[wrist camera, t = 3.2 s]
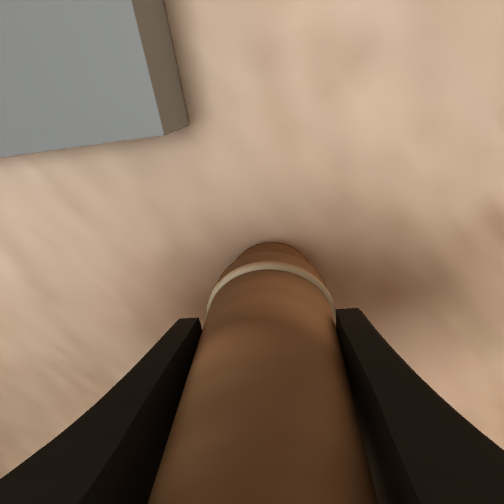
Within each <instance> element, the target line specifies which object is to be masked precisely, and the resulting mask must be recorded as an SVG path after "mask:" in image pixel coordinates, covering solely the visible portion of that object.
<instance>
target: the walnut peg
mask: <svg viewBox="0 0 504 504" xmlns="http://www.w3.org/2000/svg"><path fill="white" fill-rule="evenodd" d="M148 504H378V501H377V496H376V492H375V488H374V484H373V480H372V476H371V471H370V467H369V463H368V459H367V455H366V450H365V446H364V442H363V438H362V434H361V429H360V425H359V421H358V417H357V413H356V409H355V404H354V400H353V396H352V392H351V388H350V383H349V379H348V375H347V371H346V367H345V362H344V358H343V354H342V350H341V346H340V342H339V338H338V334H337V329H336V311H335V307H334V303H333V299H332V297H331V295H330V293H329V291H328V290H327V288H326V285H325V283H324V280H323V279H322V277H321V276H320V274H319V273H318V272H317V271H316V270H315V268H313V267H312V266H311V265H310V264H309V263H308V261H307V260H306V258H305V257H304V256H303V255H302V254H301V253H300V252H299V251H297V250H296V249H294V248H292V247H290V246H287V245H284V244H280V243H262V244H258V245H255V246H253V247H251V248H249V249H247V250H246V251H244V252H243V253H242V254H241V255H240V256H239V257H238V259H237V260H236V261H235V262H234V263H232V264H231V265H230V266H229V267H228V268H227V269H226V270H225V271H224V272H223V274H222V275H221V277H220V279H219V280H218V283H217V285H216V286H215V287H214V289H213V291H212V293H211V295H210V298H209V301H208V304H207V307H206V320H205V324H204V327H203V330H202V333H201V336H200V339H199V343H198V346H197V349H196V352H195V355H194V358H193V361H192V365H191V368H190V371H189V374H188V377H187V380H186V384H185V387H184V390H183V393H182V396H181V399H180V403H179V406H178V409H177V412H176V415H175V418H174V421H173V425H172V428H171V431H170V434H169V437H168V440H167V444H166V447H165V450H164V453H163V456H162V459H161V463H160V466H159V469H158V472H157V475H156V478H155V481H154V485H153V488H152V491H151V494H150V497H149V500H148Z"/></svg>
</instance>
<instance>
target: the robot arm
mask: <svg viewBox="0 0 504 504" xmlns="http://www.w3.org/2000/svg"><path fill="white" fill-rule="evenodd" d="M336 329H337V334H338V338H339V342H340V346H341V350H342V354H343V358H344V362H345V367H346V371H347V375H348V379H349V383H350V388H351V392H352V396H353V400H354V404H355V409H356V413H357V417H358V421H359V425H360V429H361V434H362V438H363V442H364V446H365V450H366V455H367V459H368V463H369V467H370V471H371V476H372V480H373V484H374V488H375V492H376V496H377V501H378V504H504V450H503V449H501V448H500V447H499V446H498V445H496V444H495V443H494V442H493V441H492V440H490V439H489V438H488V437H487V436H485V435H484V434H483V433H482V432H480V431H479V430H478V429H477V428H476V427H474V426H473V425H472V424H471V423H470V422H469V421H467V420H466V419H465V418H464V417H463V416H462V415H460V414H459V413H458V412H457V411H456V410H455V409H454V408H452V407H451V406H450V405H449V404H448V403H447V402H446V401H445V400H444V399H442V398H441V397H440V396H439V395H438V394H437V393H436V392H435V391H434V390H433V389H432V388H431V387H430V386H429V385H428V384H427V383H426V382H425V381H424V380H422V379H421V378H420V377H419V376H418V375H417V374H416V373H415V372H414V371H413V370H412V368H411V367H410V366H409V365H408V364H407V363H406V362H405V361H404V360H403V359H402V358H401V357H400V356H399V355H398V354H397V353H396V352H395V351H394V349H393V348H392V347H391V346H390V345H389V344H388V343H387V342H386V340H385V339H384V338H383V337H382V336H381V335H380V334H379V332H378V331H377V330H376V329H375V328H374V326H373V325H372V324H371V323H370V321H369V320H368V319H367V318H366V316H365V315H364V314H363V312H362V311H361V310H359V309H358V308H351V309H336ZM201 333H202V328H201V324H200V320H199V318H184V319H179V320H178V321H177V322H176V323H175V324H174V325H173V326H172V327H171V328H170V329H169V330H168V331H167V332H166V333H165V335H164V336H163V337H162V338H161V339H160V340H159V341H158V342H157V343H156V344H155V345H154V346H153V347H152V349H151V350H150V351H149V352H148V353H147V354H146V355H145V356H144V357H143V358H142V359H141V360H140V361H139V362H138V363H137V364H136V365H135V366H134V367H133V368H132V369H131V370H130V371H129V372H128V373H127V374H126V375H125V376H124V377H123V378H122V379H121V380H120V381H119V382H118V383H117V384H116V385H115V386H114V387H113V388H112V389H111V390H110V391H109V392H108V393H107V394H105V395H104V396H103V397H102V398H101V399H100V400H99V401H98V402H97V403H96V404H95V405H94V406H93V407H91V408H90V409H89V410H88V411H87V412H86V413H85V414H83V415H82V416H81V417H80V418H79V419H77V420H76V421H75V422H74V423H73V424H71V425H70V426H69V427H68V428H67V429H65V430H64V431H63V432H62V433H61V434H59V435H58V436H57V437H56V438H54V439H53V440H52V441H51V442H49V443H48V444H47V445H45V446H44V447H43V448H41V449H40V450H39V451H37V452H36V453H35V454H33V455H32V456H31V457H29V458H28V459H27V460H25V461H24V462H23V463H21V464H20V465H19V466H17V467H16V468H15V469H13V470H12V471H11V472H9V473H8V474H7V475H5V476H4V477H3V478H1V479H0V504H148V500H149V497H150V494H151V491H152V488H153V485H154V481H155V478H156V475H157V472H158V469H159V466H160V463H161V459H162V456H163V453H164V450H165V447H166V444H167V440H168V437H169V434H170V431H171V428H172V425H173V421H174V418H175V415H176V412H177V409H178V406H179V403H180V399H181V396H182V393H183V390H184V387H185V384H186V380H187V377H188V374H189V371H190V368H191V365H192V361H193V358H194V355H195V352H196V349H197V346H198V343H199V339H200V336H201Z"/></svg>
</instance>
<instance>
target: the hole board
mask: <svg viewBox="0 0 504 504" xmlns="http://www.w3.org/2000/svg"><path fill="white" fill-rule="evenodd" d="M188 125H189V121H188V116H187V112H186V107H185V102H184V97H183V92H182V88H181V83H180V78H179V73H178V68H177V64H176V59H175V54H174V49H173V44H172V39H171V35H170V30H169V25H168V20H167V15H166V11H165V6H164V1H163V0H0V158H1V157H8V156H16V155H23V154H30V153H38V152H45V151H52V150H59V149H67V148H74V147H81V146H88V145H96V144H103V143H110V142H118V141H125V140H132V139H139V138H147V137H154V136H161V135H166V134H168V133H170V132H173V131H175V130H178V129H180V128H183V127H185V126H188Z"/></svg>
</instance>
